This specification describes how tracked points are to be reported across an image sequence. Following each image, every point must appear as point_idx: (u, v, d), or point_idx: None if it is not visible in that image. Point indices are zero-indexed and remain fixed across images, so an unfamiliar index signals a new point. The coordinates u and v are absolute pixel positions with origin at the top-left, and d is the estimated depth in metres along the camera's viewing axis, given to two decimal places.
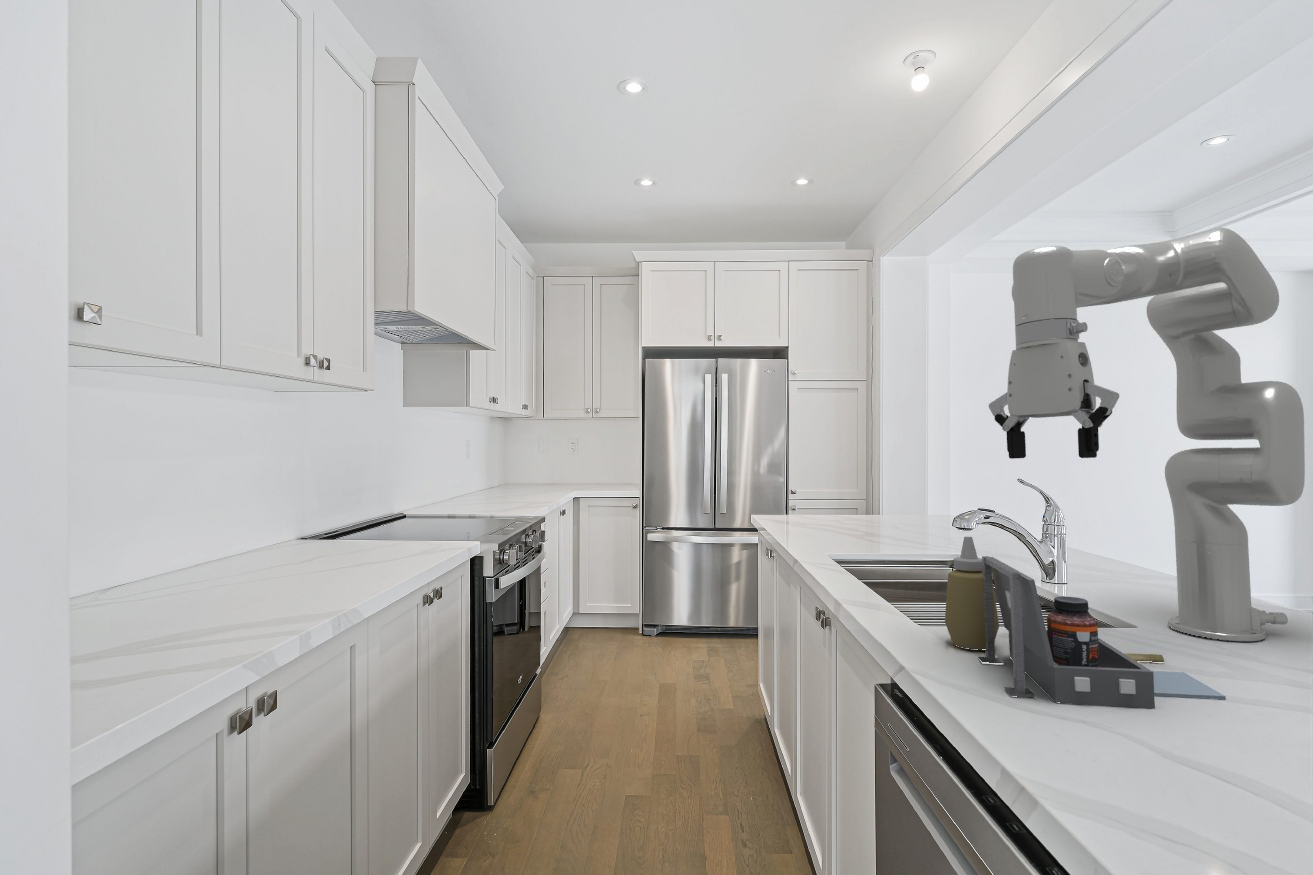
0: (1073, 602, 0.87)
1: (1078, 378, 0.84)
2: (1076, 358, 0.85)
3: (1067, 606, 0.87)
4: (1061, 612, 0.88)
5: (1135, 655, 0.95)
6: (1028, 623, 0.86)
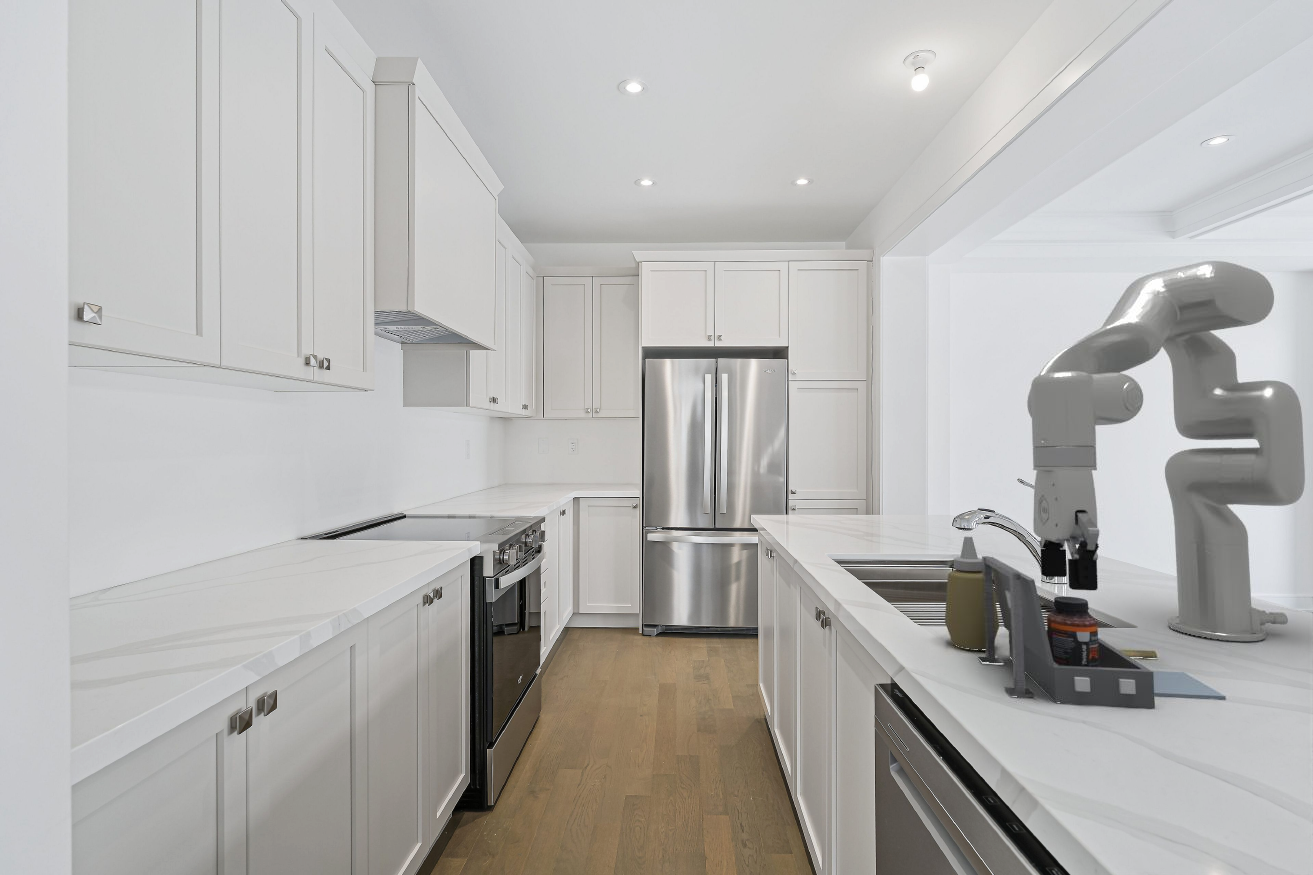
0: (1073, 602, 0.87)
1: None
2: None
3: (1067, 606, 0.87)
4: (1061, 612, 0.88)
5: None
6: (1028, 623, 0.86)
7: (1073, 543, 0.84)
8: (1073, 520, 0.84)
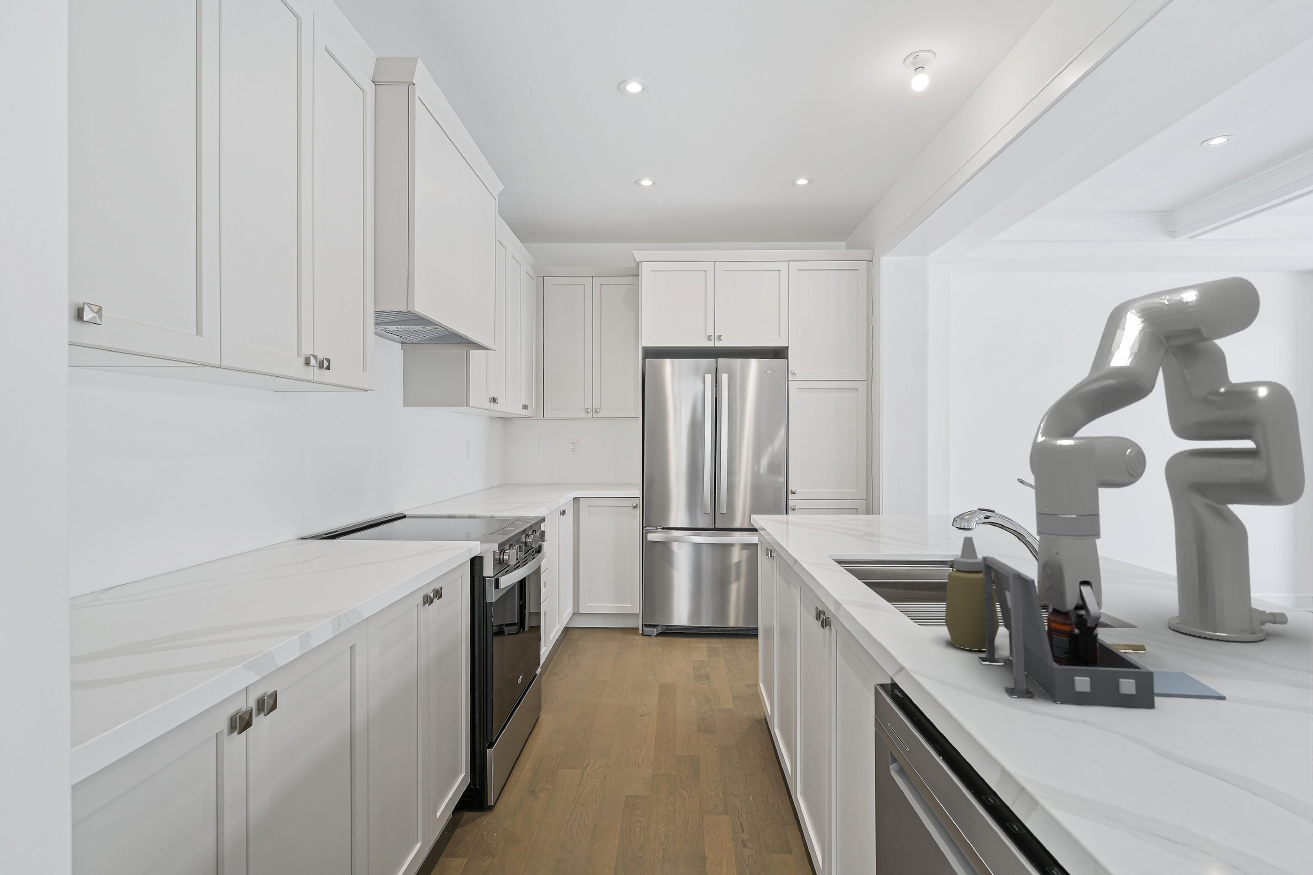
0: None
1: None
2: None
3: None
4: (1061, 612, 0.88)
5: None
6: (1028, 623, 0.86)
7: (1075, 618, 0.85)
8: (1077, 591, 0.84)
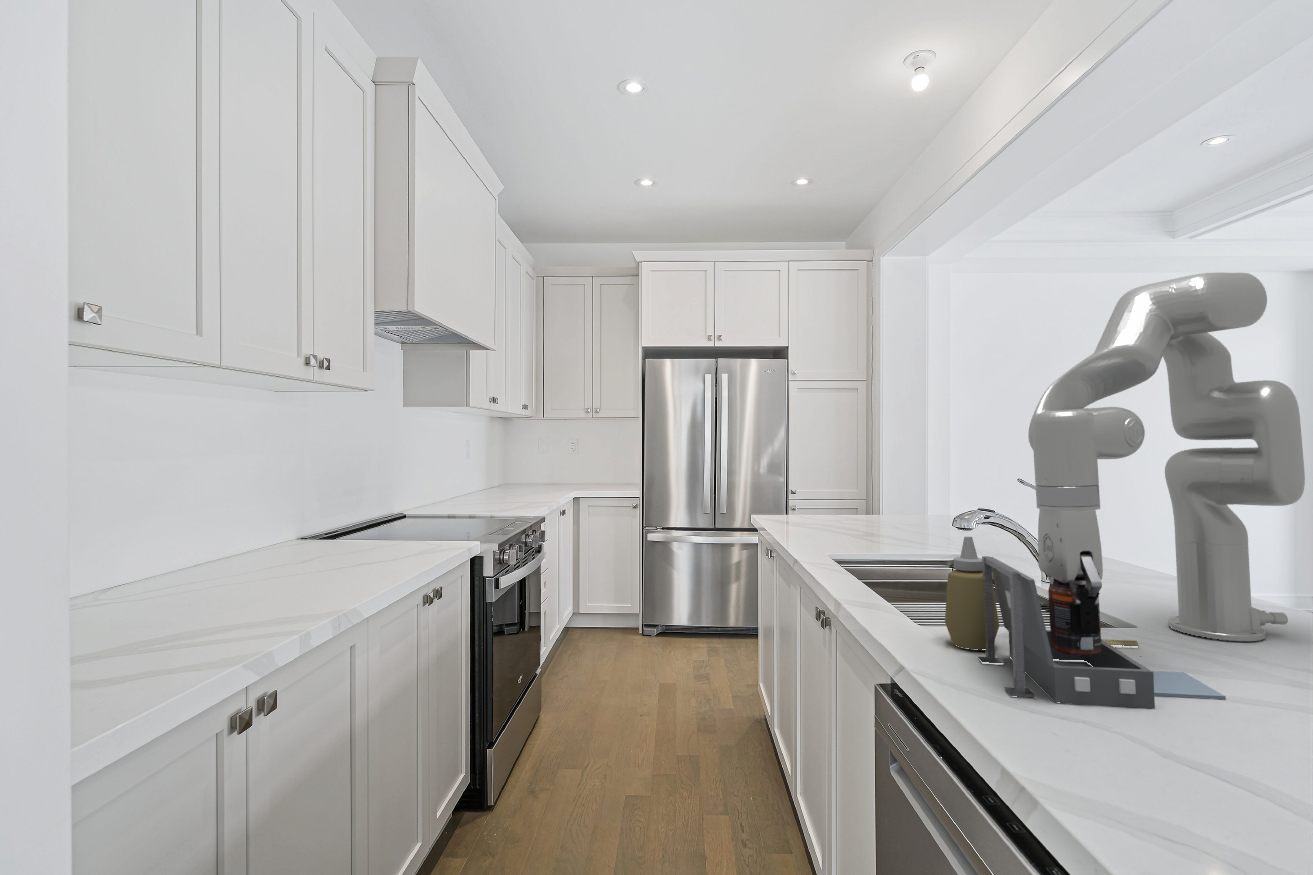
0: None
1: None
2: None
3: None
4: (1062, 584, 0.88)
5: None
6: (1028, 623, 0.86)
7: (1076, 589, 0.85)
8: (1078, 561, 0.84)
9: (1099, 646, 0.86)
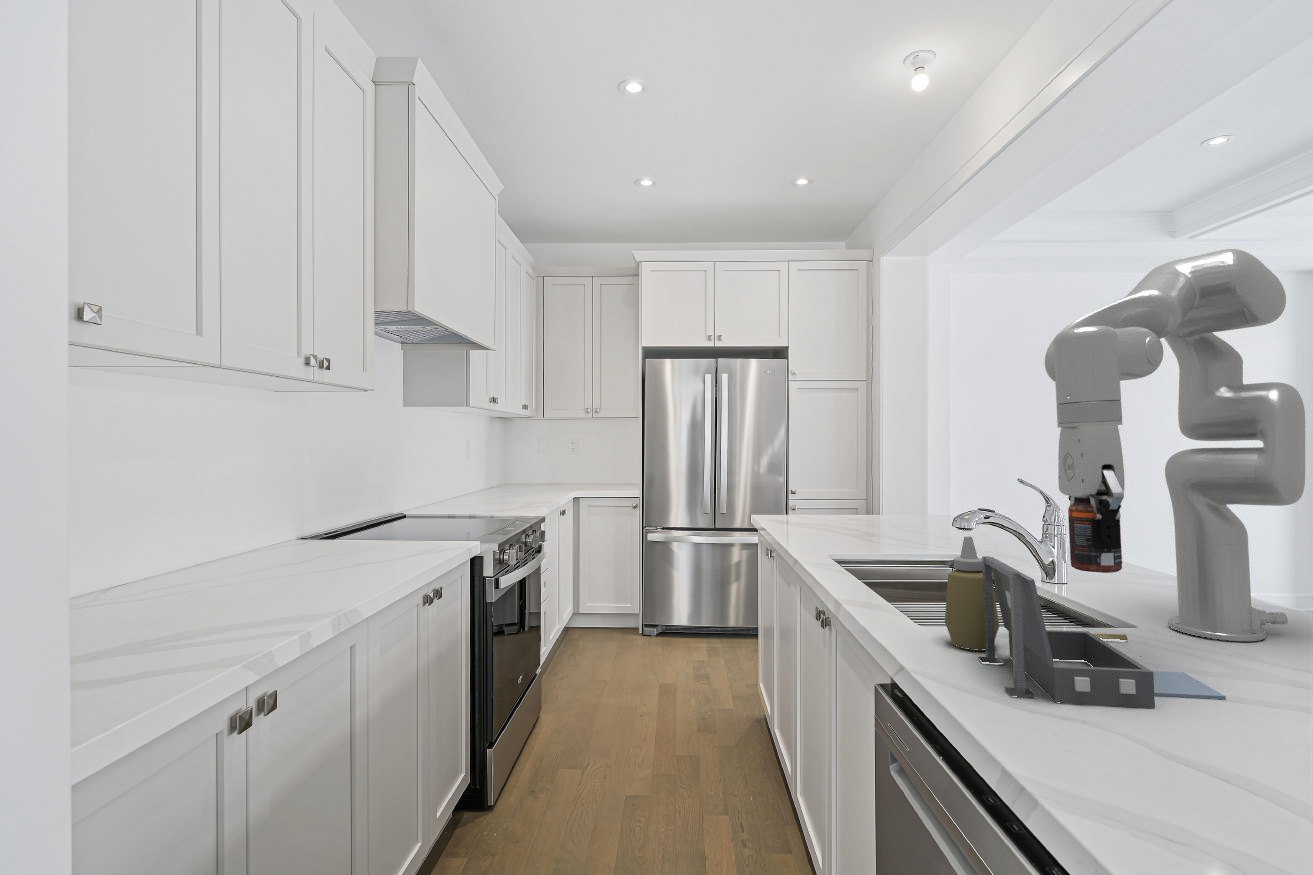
0: None
1: None
2: None
3: None
4: (1082, 501, 0.87)
5: None
6: (1028, 623, 0.86)
7: (1097, 503, 0.84)
8: (1100, 475, 0.83)
9: (1120, 563, 0.85)
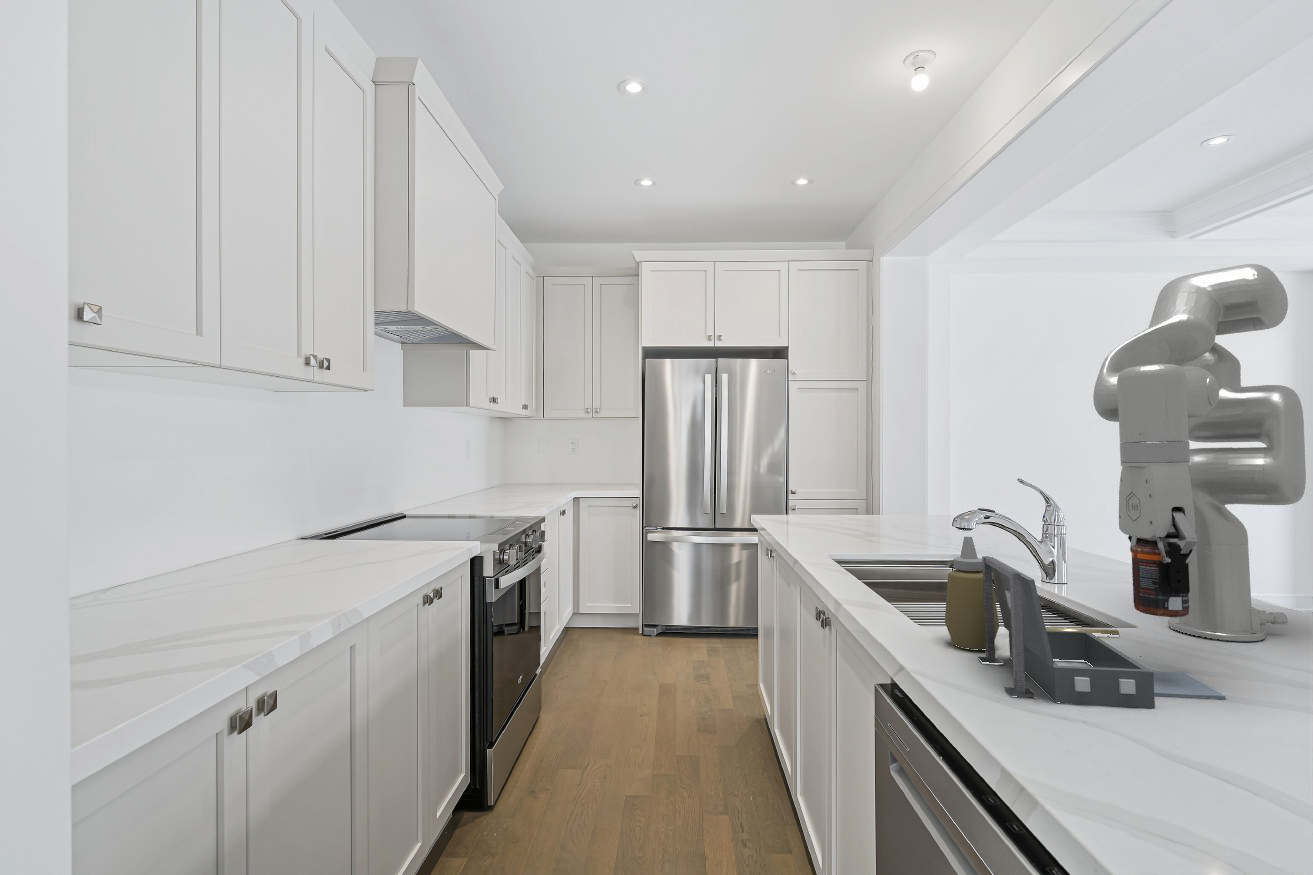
0: None
1: None
2: None
3: None
4: (1148, 543, 0.85)
5: None
6: (1028, 623, 0.86)
7: (1166, 546, 0.82)
8: (1170, 517, 0.81)
9: (1187, 607, 0.83)
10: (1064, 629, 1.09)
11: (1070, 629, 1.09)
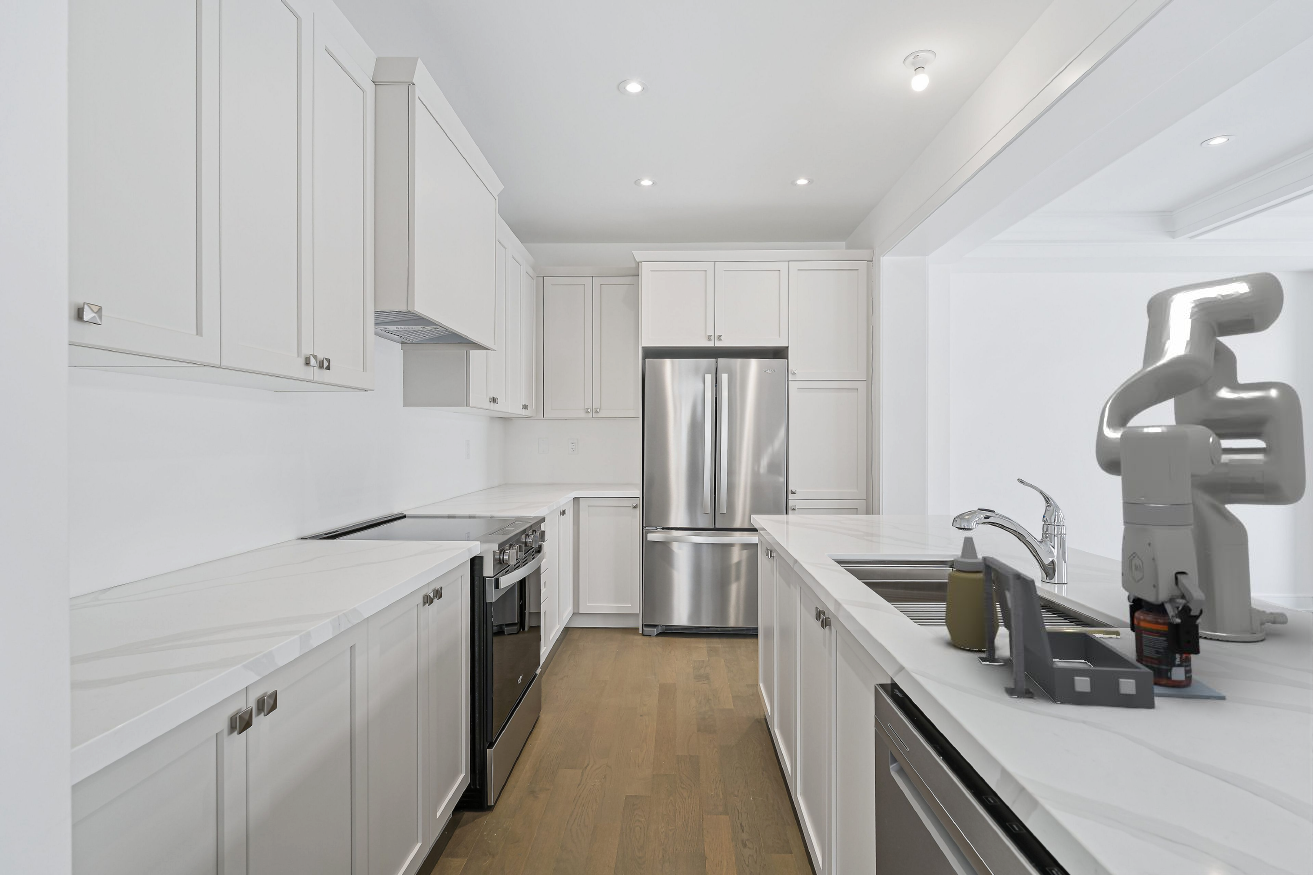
0: None
1: None
2: None
3: (1157, 604, 0.85)
4: (1151, 611, 0.86)
5: None
6: (1028, 623, 0.86)
7: (1173, 606, 0.81)
8: (1173, 582, 0.81)
9: (1190, 677, 0.84)
10: None
11: None
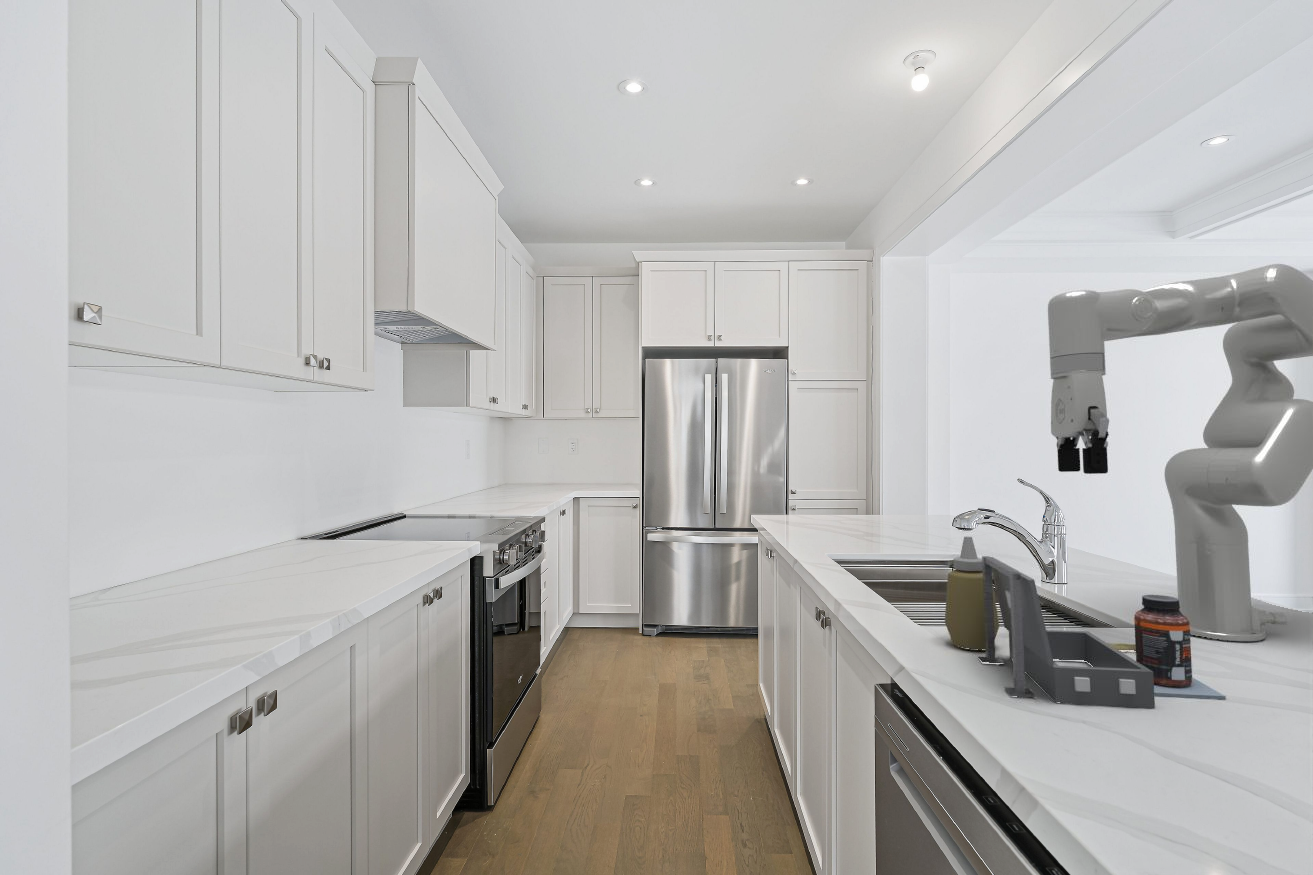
0: (1164, 600, 0.85)
1: None
2: None
3: (1158, 604, 0.85)
4: (1151, 611, 0.86)
5: None
6: (1028, 623, 0.86)
7: (1086, 434, 0.98)
8: (1086, 415, 0.99)
9: (1190, 677, 0.84)
10: None
11: None
